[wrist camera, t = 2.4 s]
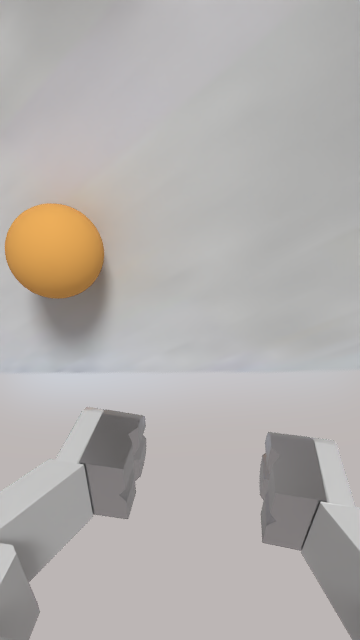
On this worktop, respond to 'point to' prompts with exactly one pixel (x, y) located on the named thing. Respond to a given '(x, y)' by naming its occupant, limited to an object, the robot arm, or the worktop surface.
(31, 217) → the ball
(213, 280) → the worktop surface
